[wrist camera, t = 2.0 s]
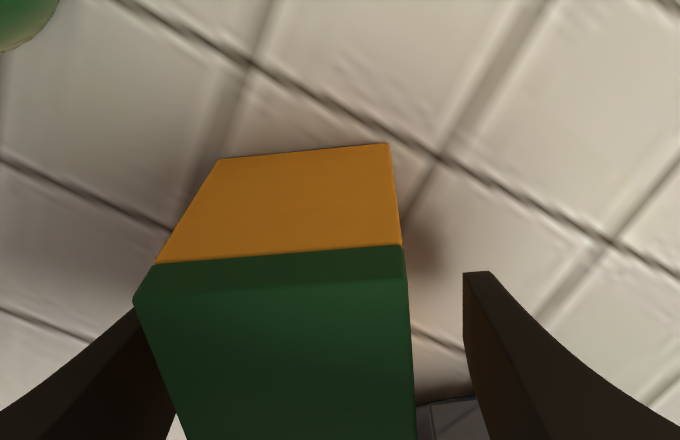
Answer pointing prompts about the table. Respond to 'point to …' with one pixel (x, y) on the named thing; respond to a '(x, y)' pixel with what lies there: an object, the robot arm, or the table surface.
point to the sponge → (286, 302)
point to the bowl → (451, 420)
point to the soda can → (23, 20)
